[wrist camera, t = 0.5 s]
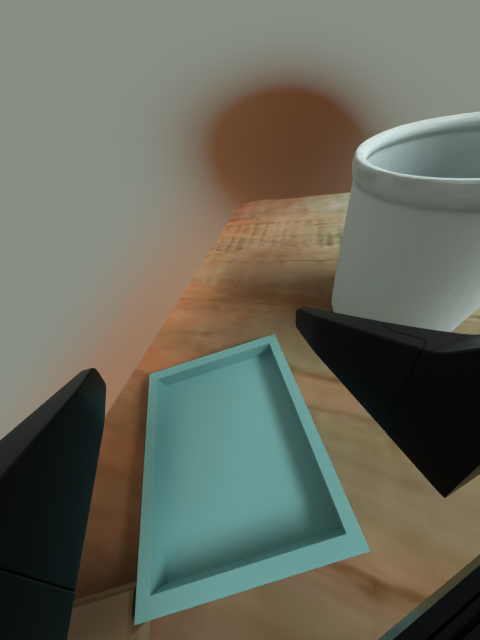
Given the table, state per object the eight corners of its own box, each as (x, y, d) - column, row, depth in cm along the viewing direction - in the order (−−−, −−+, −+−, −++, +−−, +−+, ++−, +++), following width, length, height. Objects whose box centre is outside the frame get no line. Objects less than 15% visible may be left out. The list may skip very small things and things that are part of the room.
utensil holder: (349, 260, 34) (385, 117, 21) (467, 286, 27) (646, 88, 13) (308, 321, 28) (323, 177, 15) (446, 377, 21) (729, 187, 7)
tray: (358, 540, 15) (370, 551, 13) (157, 603, 15) (134, 625, 13) (276, 346, 27) (274, 333, 25) (161, 383, 27) (149, 374, 25)
